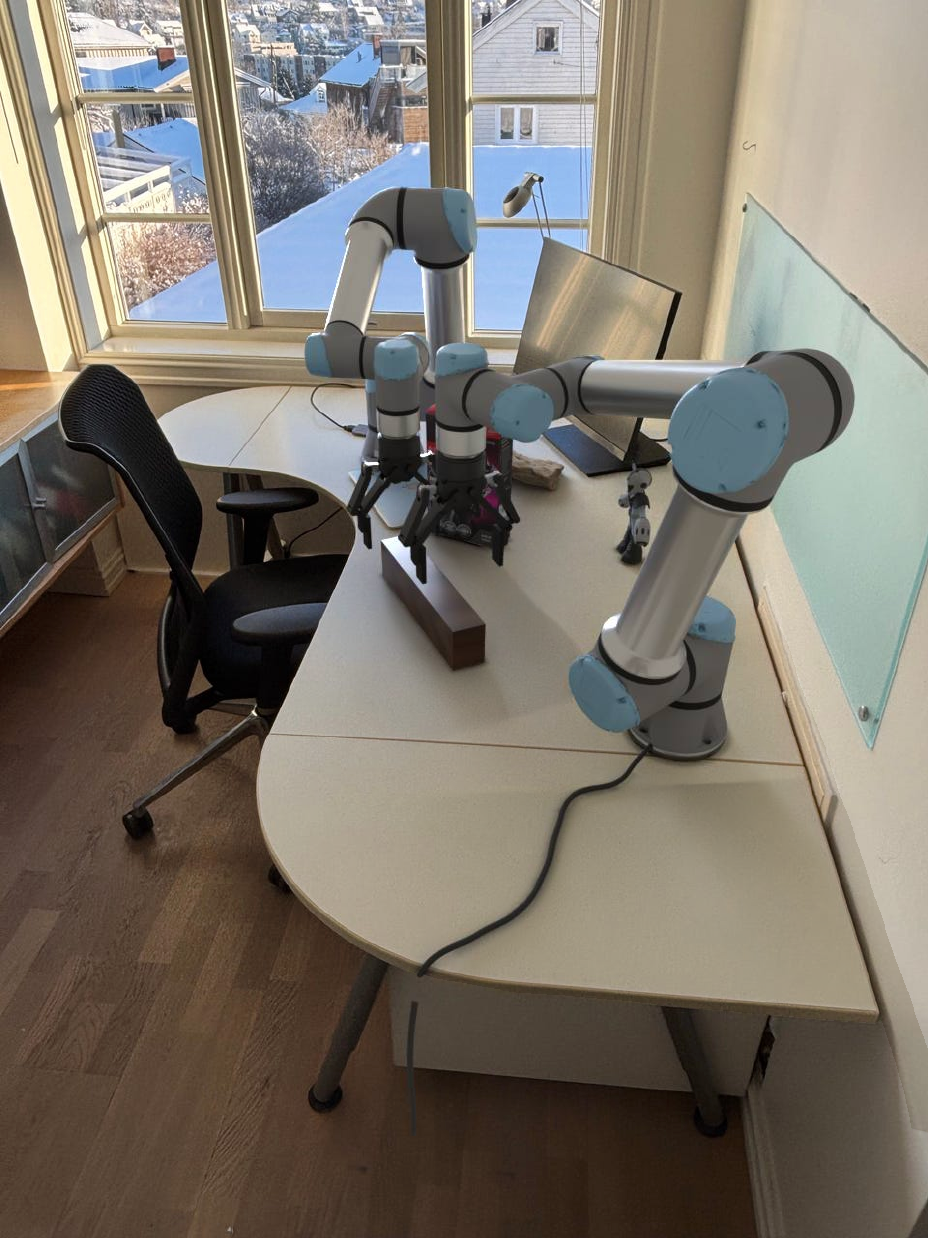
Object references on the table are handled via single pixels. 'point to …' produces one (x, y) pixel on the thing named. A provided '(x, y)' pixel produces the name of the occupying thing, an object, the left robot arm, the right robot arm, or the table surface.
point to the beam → (435, 607)
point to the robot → (635, 516)
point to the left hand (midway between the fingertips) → (402, 539)
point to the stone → (535, 470)
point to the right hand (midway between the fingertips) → (460, 571)
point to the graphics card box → (475, 519)
